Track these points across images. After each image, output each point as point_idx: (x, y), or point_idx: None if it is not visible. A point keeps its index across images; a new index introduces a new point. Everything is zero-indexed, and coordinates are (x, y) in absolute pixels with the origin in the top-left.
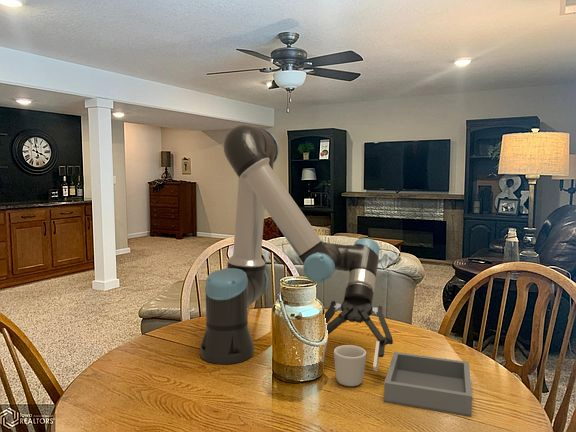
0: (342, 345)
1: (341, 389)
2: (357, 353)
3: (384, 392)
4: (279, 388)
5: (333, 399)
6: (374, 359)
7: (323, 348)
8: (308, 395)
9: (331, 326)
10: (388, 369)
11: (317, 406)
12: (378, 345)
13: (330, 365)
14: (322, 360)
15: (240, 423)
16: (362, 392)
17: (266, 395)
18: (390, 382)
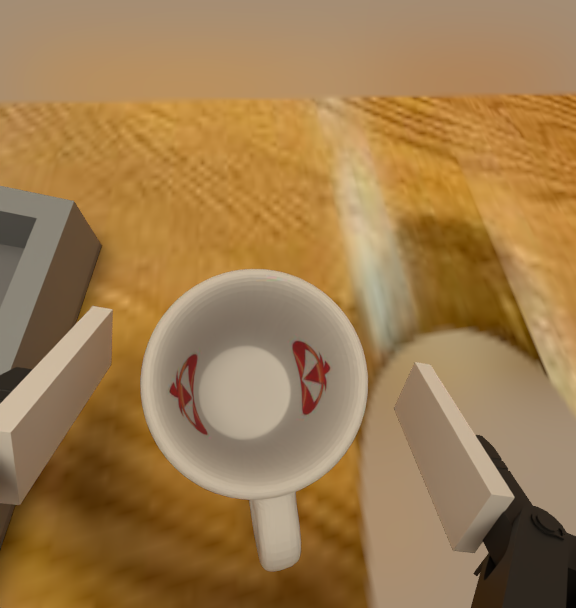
0: (323, 467)
1: None
2: (206, 449)
3: (88, 227)
4: (489, 291)
5: (296, 241)
6: (90, 331)
7: (437, 413)
8: (384, 257)
9: (506, 593)
10: (15, 355)
11: (341, 194)
12: (10, 399)
13: (352, 568)
14: (403, 396)
15: (505, 108)
16: None
17: (507, 241)
18: (40, 204)
